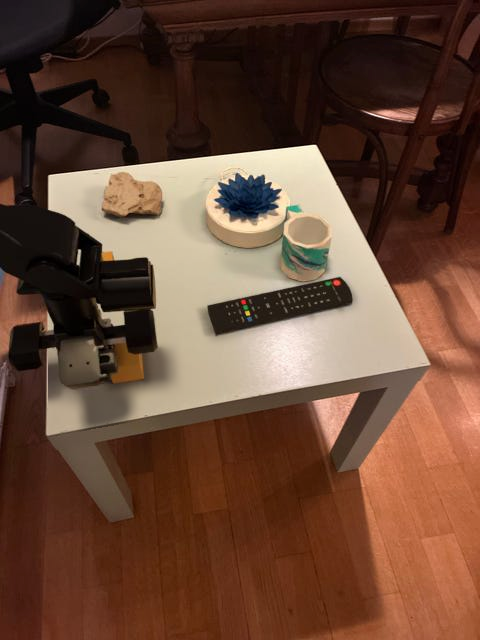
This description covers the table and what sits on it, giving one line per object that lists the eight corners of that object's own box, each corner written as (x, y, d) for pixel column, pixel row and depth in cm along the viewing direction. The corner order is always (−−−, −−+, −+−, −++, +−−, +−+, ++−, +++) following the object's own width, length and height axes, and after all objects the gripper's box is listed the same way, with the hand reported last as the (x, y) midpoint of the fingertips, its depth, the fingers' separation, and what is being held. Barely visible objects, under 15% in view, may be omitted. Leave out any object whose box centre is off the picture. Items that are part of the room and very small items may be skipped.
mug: (286, 284, 83) (290, 250, 76) (269, 236, 90) (271, 200, 83) (331, 276, 84) (339, 242, 77) (311, 229, 91) (316, 194, 84)
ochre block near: (144, 379, 72) (139, 363, 68) (113, 383, 72) (107, 368, 68) (141, 353, 75) (137, 337, 71) (112, 358, 74) (106, 342, 70)
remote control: (207, 310, 80) (207, 305, 79) (341, 281, 84) (343, 276, 83) (215, 336, 77) (215, 331, 76) (354, 304, 81) (355, 299, 80)
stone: (122, 186, 97) (117, 165, 93) (170, 206, 94) (167, 185, 90) (94, 213, 92) (88, 193, 88) (143, 234, 89) (139, 214, 85)
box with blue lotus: (303, 212, 84) (270, 144, 95) (216, 227, 81) (192, 155, 92) (298, 240, 89) (267, 173, 101) (216, 255, 87) (194, 184, 98)
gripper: (-16, 374, 53) (29, 430, 66) (155, 349, 56) (166, 408, 68) (-7, 295, 59) (33, 360, 72) (147, 276, 62) (159, 342, 75)
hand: (97, 369), depth 72 cm, fingers closed
